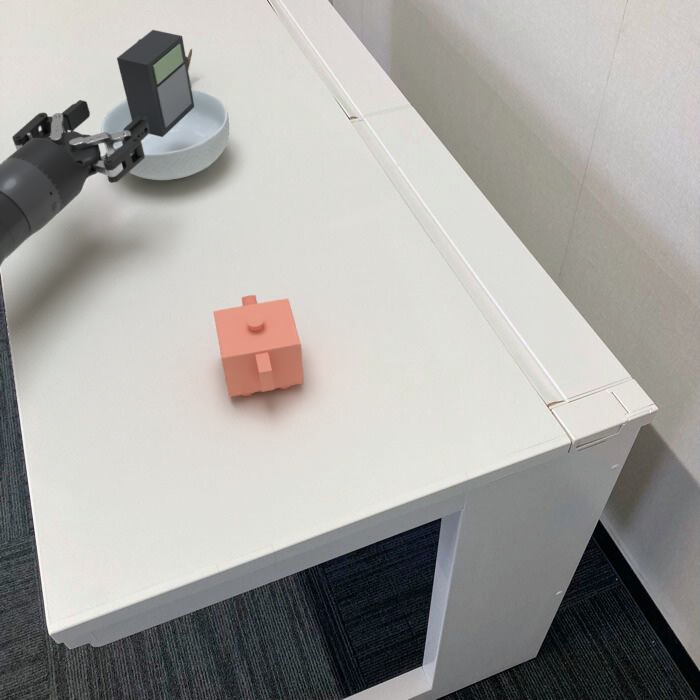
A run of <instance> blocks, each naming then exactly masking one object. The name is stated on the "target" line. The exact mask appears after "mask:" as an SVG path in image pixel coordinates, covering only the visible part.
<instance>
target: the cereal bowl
mask: <svg viewBox="0 0 700 700" xmlns="http://www.w3.org/2000/svg"><path fill="white" fill-rule="evenodd" d="M191 90H192V96H193V102H194V108H193V109H192V110H191V111H190V112H189V113H187V114H186V115H185V116H184V117H183V118H182V119H181V120H180V121H179V122H178V123H177V124H176V125H175V126H174V127H173V128H172V129H171V130H170V131H169V132H168V133H167V134H165V135H164V136H163V137H160V136H156V135H152V134H148V135H147V136H146V137H145V138H144V139H143V140H142V141H141V143H142V147H143V151H144V155H145V158H144V159H143V160H142V161H141V162H139V163H138V164H137V165H136V166H135V167H134V168H133V169H131V170H130V171H129V172H128V173H130V174H131V175H134V176H136V177H139V178H141V179H142V178H143V179H145V180H146V179H147V180H148V179H149V180H154V181H171V180H179V179H183V178H186V177H190V176H192V175H193V176H194V175H195V174H198V173H199V172H201V171H204V170H205V169H207V168H208V167H210V166H211V165H212V164H213V163H214V162H216V161H217V160H218V159H219V157H220V156H221V154H223V152H224V150H225V149H226V147H227V144H228V141H229V137H230V136H229V135H230V118H229V112H228V109H227V107H226V105H225V104H224V102H223V101H222V100H220V99H219V98H218V97H217V96H216V95H213V94H212V93H210V92H207V91H204V90H200V89H197V88H196V89H195V88H191ZM131 122H132V118H131V114H130V110H129V106H128V102H127V98H126V99H124V100H122V101H120V102H119V103H117V104H116V105H114V107H112V108H111V109H110V110H109V111H108V112H107V113H106V114H105V116H104V117H103V119H102V122H101V126H100V133H103V132H107V133H108V134H114V133H117V132H120V131H123V129H124V128H125V127H126V126H127V125H128V124H130V123H131ZM122 145H123V144H122V141H120V142H116V143H114V144H113V147H114V149H116V148H119V147H121V146H122ZM131 155H132V154H131Z"/></svg>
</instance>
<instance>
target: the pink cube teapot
mask: <svg viewBox="0 0 700 700" xmlns="http://www.w3.org/2000/svg"><path fill="white" fill-rule="evenodd" d="M241 302H242V303H241V304H242V305H240V306H235V307H230V308H229V307H228V308H223V309H218V310H214V311H213V317H214V322H215V323H214V324H215V327H216V328H215V329H216V334H217V340H218V345H219V351H220V356H221V357H220V358H221V363H222V368H223V372H224V377H225V382H226V383H225V384H226V387H227V394H228V397H229V398H232V397H236V396H242V397H250V396H252V395H253V394H254V393H258V392H262V393H264V392H269V391H274V390H275V389H280V390H288V389H290V388H291V387H292V386H295V385H300V384H305V381H304V367H303V354H302V345H301V340H300V336H299V333H298V330H297V325H296V322H295V318H294V315H293V311H292V307H291V303H290V300H289V298H282V299H277V300H271V301H264V302H258V301H257V296H256V295H255V294H251V295H245V296H242V297H241Z"/></svg>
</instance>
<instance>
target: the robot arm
mask: <svg viewBox="0 0 700 700" xmlns="http://www.w3.org/2000/svg"><path fill="white" fill-rule="evenodd" d="M90 116H91V112H90V108H89V105H88V102H87V101H86V100H82V99H79V100H77V101H76V102H75V103H73V104H71V105H70V106H69V107H67V108H66V109H65V110H64V111H62V112H61V113H60V112H56V113H54V114H52V116H48V113H46V112H39V113H37V114H36V115H35V116H34V117H32V118H31V120H29V121H28V122H27V123H25V125H23V127H22V128H21V129H19V130H18V131H17V132H16V133H14V134H13V136H12V138H11V139H12V141H13V143H14V147H15V149H16V151H14V152H13V153H12V154H10V156H8V157H7V158H6V159H4V160H3V161H2V162H1V163H0V267H1V266H2V264H3V263H4V261H5V260H6V259H7V258H9V256H11V255H12V254H13V253H15V252H16V251H17V249H18V248H19V247H21V245H22V244H24V242H26V241H27V240H28V239H29V238H31V236H33V235H34V234H36V233H38V232H39V231H40V230H42V229H43V228H44V227H45V226H46V225H48V223H50V222H51V221H52V220H53V219H54V218H55V217H56V216H57V215H59V214H60V212H61V211H62V210H63V209H65V208H66V207H67V206H68V205H69V204H70V203H71V202H72V201H74V199H75V198H76V197H78V196H79V194H80V193H81V192H82V190H83V189H84V185H85V183H86V180H87V178H90V177H91V176H93V175H96V174H97V173H100V174H102V175H105V176H107V180H108V182H109V183H111V184H112V183H113V184H115V183H118V182H119V181H120V180H121V179H122V178H124V177H125V176H126V175H127V174H128V173H130V172H129V171H130V170H131V169H133V168H134V167H135V166H136V165H137V164H138V163H139V162H141V161H142V160H143V159H144V158H145V155H144V151H143V147H142V143H141V141H142V140H143V139H144V138H145V137H146V136H147V135H148V134H149V127H148V122H147V118H146V116H142V115H138V116H137V117H136V118H135V119H134V120H133V121H132V122H131V123H130V124H128V125H127V126H126V127H125V128H124V129H123V131H120V132H117V133H114V134H108V133H107V132H103V133H101V132H100V133H96V134H93V135H90V134H84V133H83V134H82V133H80V132H78V131H75V130H76V129H77V128H78V127H79V126H81V125H82V124H83V123H84V122H86V120H88V118H90ZM120 141H122V144H123V145H122V146H121V147H119V148H116V149H114V147H113V144H114V143H116V142H120ZM101 144H104V148H105V154H104V155H102V153H101V148H100V145H101ZM131 154H132V155H131Z"/></svg>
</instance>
